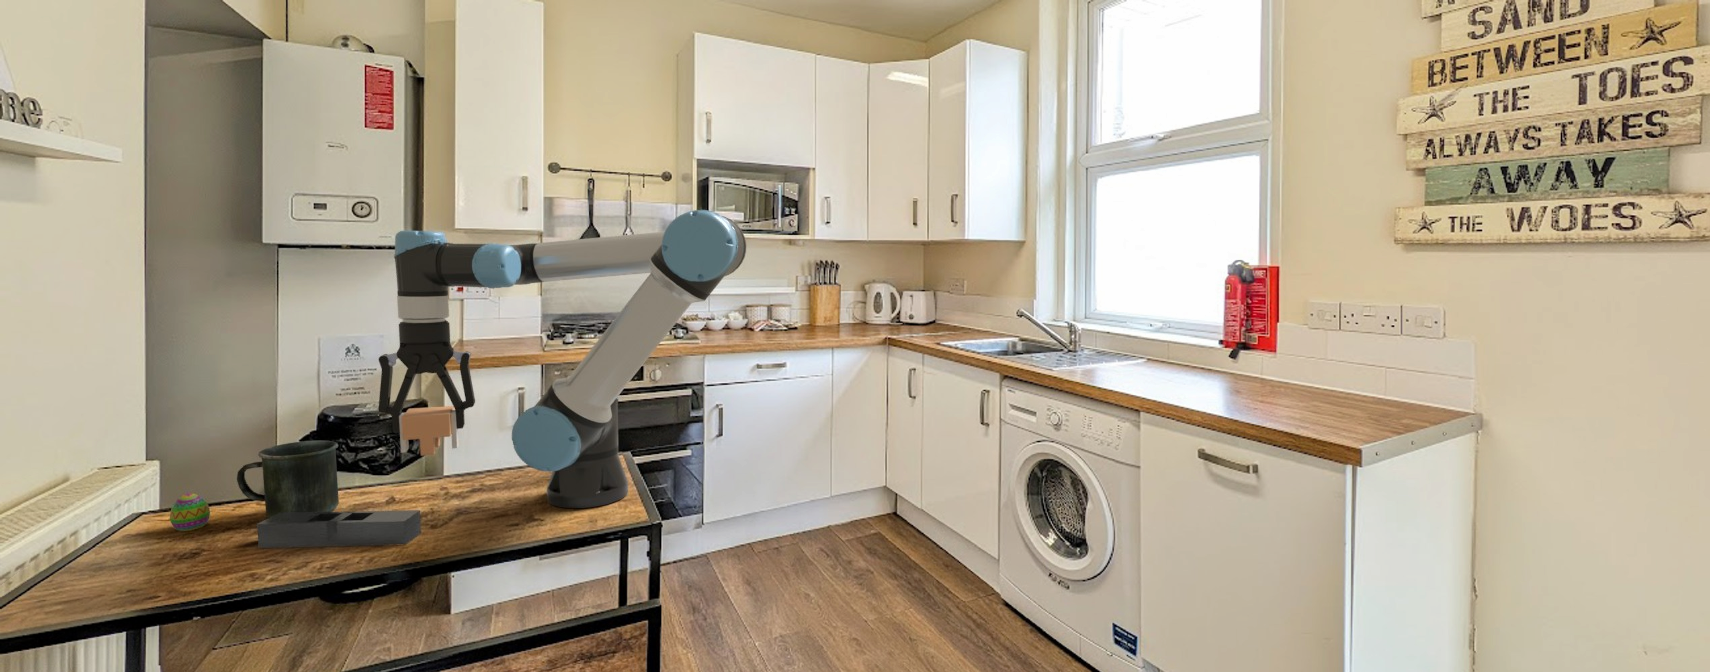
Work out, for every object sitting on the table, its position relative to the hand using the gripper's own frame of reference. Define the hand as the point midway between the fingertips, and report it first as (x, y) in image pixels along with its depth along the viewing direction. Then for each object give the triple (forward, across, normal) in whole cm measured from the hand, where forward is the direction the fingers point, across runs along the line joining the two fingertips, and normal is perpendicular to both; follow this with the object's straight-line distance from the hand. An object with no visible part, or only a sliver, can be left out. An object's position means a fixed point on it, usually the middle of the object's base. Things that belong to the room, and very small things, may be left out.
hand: (430, 448), depth 122 cm
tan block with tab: (0, 0, 0) cm, 0 cm away
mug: (+13, +24, -12) cm, 29 cm away
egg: (+13, +37, -10) cm, 40 cm away
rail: (+13, +12, +6) cm, 19 cm away
